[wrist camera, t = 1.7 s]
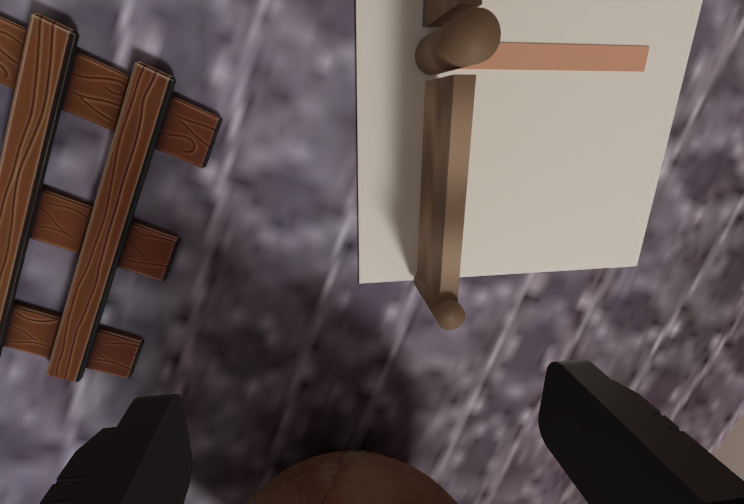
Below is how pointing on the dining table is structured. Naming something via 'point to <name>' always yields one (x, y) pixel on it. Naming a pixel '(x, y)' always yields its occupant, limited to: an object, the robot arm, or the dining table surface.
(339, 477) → the jug
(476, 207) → the card
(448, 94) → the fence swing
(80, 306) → the decorative fence
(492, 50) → the fence fixed
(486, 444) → the dining table surface
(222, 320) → the dining table surface
